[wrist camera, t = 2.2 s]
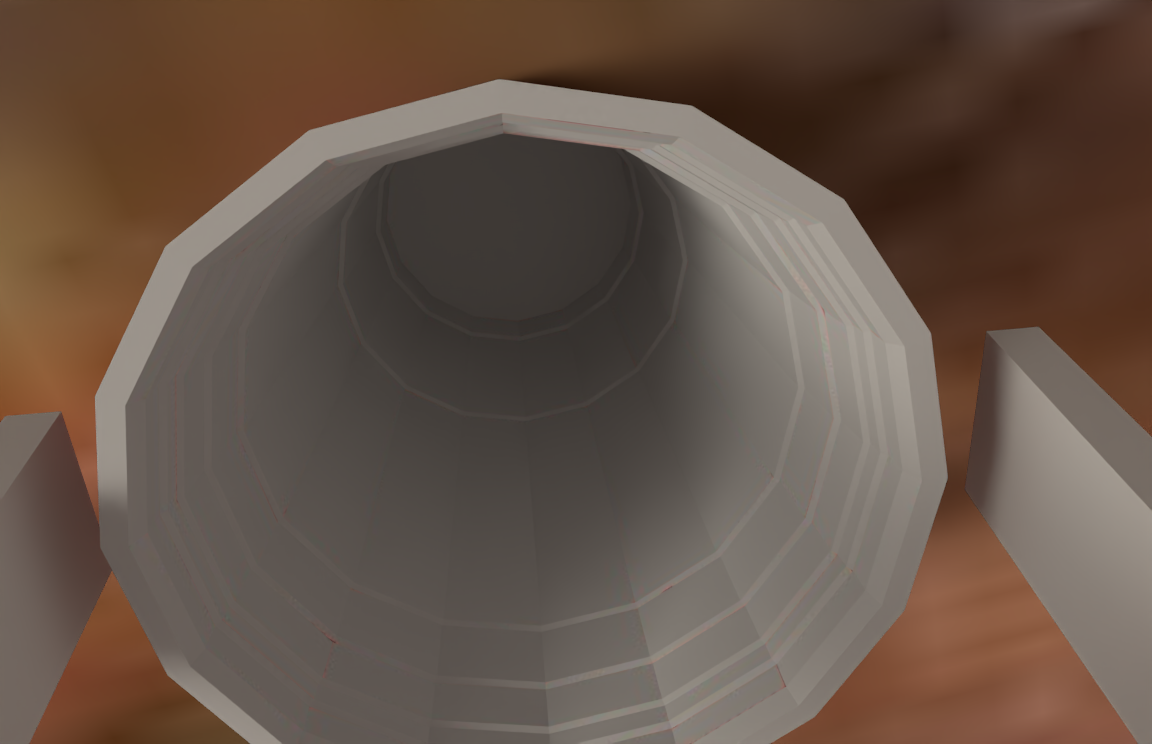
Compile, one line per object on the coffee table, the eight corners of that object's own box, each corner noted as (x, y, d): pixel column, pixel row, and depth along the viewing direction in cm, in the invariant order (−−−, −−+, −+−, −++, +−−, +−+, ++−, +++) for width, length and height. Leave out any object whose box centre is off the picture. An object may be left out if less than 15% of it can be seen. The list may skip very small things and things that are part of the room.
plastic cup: (762, -79, 22) (1030, 67, 11) (743, 390, 27) (913, 788, 16) (208, -48, 21) (-56, 136, 11) (301, 425, 26) (186, 858, 16)
